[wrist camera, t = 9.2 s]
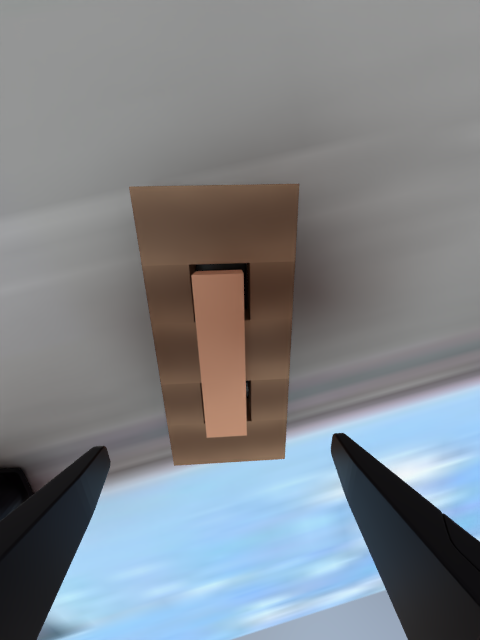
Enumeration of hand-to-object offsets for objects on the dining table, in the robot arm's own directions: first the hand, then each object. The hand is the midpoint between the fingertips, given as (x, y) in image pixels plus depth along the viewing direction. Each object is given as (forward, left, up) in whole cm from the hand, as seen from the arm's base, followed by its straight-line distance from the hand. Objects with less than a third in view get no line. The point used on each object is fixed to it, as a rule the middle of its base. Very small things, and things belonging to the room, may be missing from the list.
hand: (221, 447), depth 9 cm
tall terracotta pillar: (0, 0, -11) cm, 11 cm away
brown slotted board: (0, 0, -11) cm, 11 cm away
